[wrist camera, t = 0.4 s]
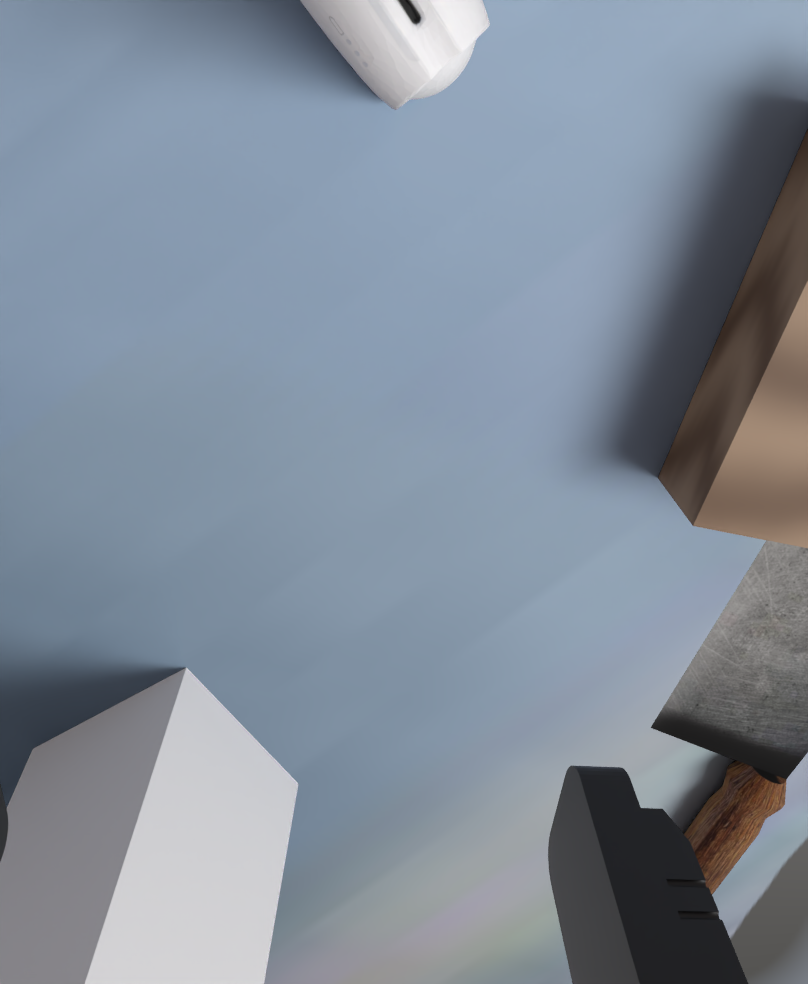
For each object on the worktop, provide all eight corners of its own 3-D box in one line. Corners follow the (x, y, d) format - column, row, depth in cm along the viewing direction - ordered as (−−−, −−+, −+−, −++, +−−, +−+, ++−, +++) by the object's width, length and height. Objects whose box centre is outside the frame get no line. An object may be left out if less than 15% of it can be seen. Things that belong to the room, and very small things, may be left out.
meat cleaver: (774, 459, 40) (812, 495, 37) (953, 510, 42) (1006, 549, 39) (537, 862, 55) (549, 916, 52) (678, 887, 57) (698, 940, 53)
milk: (186, 667, 45) (-13, 1271, 22) (298, 783, 50) (231, 1380, 27) (32, 748, 47) (-291, 1366, 24) (153, 851, 52) (-23, 1450, 29)
